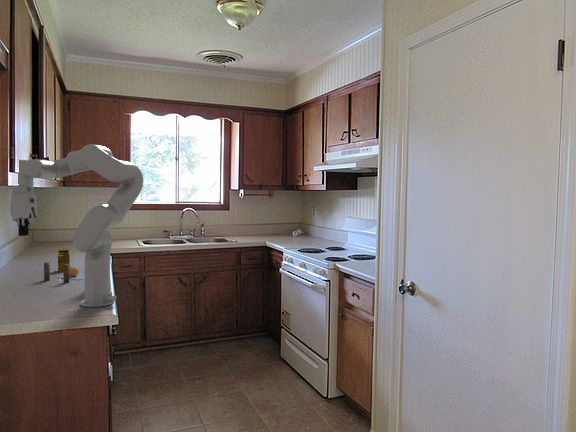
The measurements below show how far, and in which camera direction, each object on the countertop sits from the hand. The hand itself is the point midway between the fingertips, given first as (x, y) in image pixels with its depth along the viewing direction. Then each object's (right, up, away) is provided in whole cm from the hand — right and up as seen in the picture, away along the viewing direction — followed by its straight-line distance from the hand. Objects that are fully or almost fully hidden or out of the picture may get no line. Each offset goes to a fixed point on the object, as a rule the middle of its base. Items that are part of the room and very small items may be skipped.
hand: (23, 235), depth 180 cm
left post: (-14, -25, +43) cm, 51 cm away
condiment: (-19, -23, +71) cm, 77 cm away
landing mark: (-3, -24, +54) cm, 59 cm away
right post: (-2, -25, +39) cm, 46 cm away
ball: (-6, -22, +54) cm, 58 cm away
